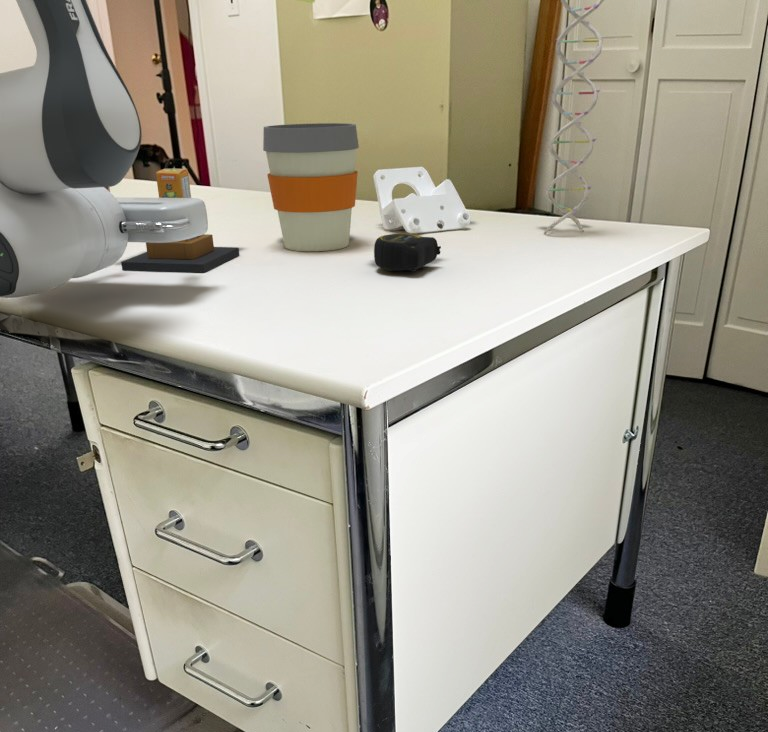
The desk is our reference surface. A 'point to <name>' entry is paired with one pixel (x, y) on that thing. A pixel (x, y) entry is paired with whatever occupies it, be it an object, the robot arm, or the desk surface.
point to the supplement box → (174, 185)
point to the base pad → (181, 256)
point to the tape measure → (405, 251)
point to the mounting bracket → (419, 202)
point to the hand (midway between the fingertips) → (147, 208)
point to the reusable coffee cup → (313, 182)
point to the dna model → (575, 121)
